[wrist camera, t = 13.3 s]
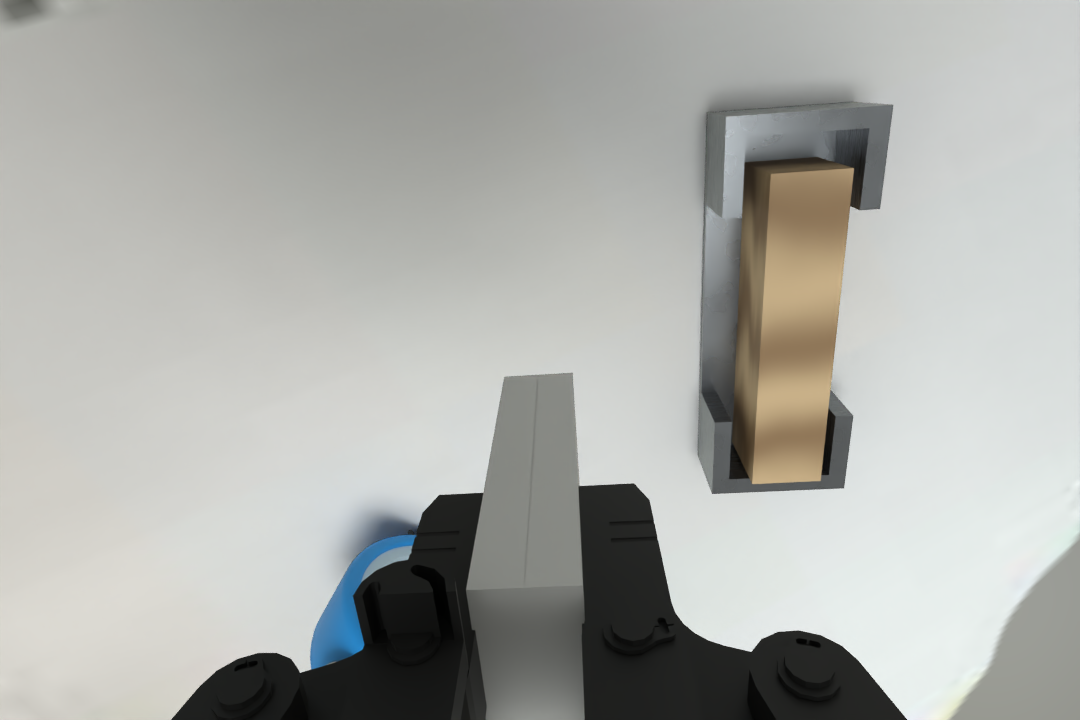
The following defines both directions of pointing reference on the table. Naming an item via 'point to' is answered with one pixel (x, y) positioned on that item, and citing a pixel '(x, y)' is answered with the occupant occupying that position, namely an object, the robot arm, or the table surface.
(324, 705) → the robot arm
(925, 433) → the table surface
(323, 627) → the alarm clock
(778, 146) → the gray cradle tray
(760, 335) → the long wooden block
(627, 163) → the table surface
